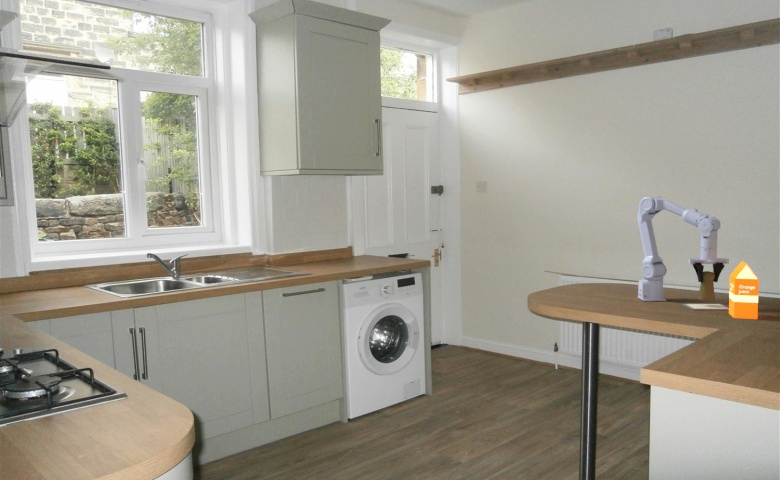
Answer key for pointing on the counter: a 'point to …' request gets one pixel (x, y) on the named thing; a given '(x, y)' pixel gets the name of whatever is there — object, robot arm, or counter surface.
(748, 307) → the orange juice
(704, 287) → the cork
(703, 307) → the notepad
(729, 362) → the counter surface
